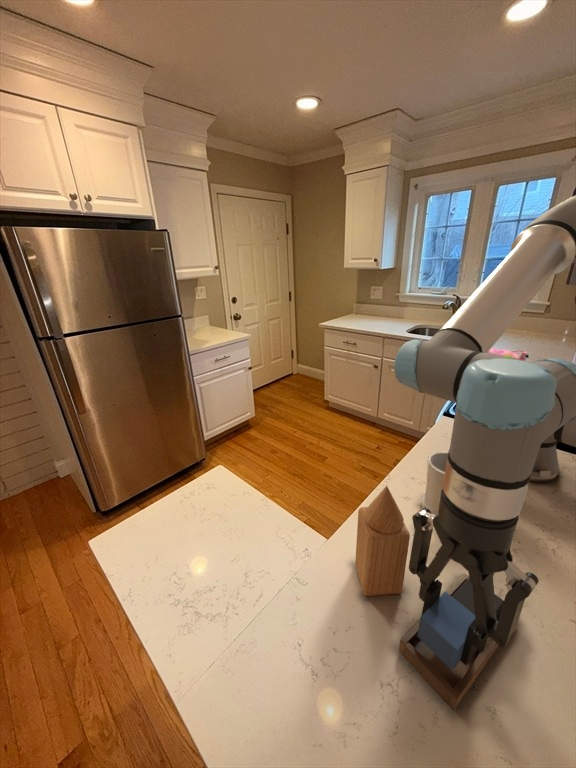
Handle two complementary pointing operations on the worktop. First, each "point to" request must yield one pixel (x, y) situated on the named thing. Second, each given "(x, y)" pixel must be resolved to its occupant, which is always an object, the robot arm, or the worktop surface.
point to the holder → (436, 670)
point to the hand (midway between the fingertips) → (447, 636)
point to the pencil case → (509, 353)
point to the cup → (434, 481)
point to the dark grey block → (466, 598)
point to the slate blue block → (446, 629)
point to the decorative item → (381, 546)
